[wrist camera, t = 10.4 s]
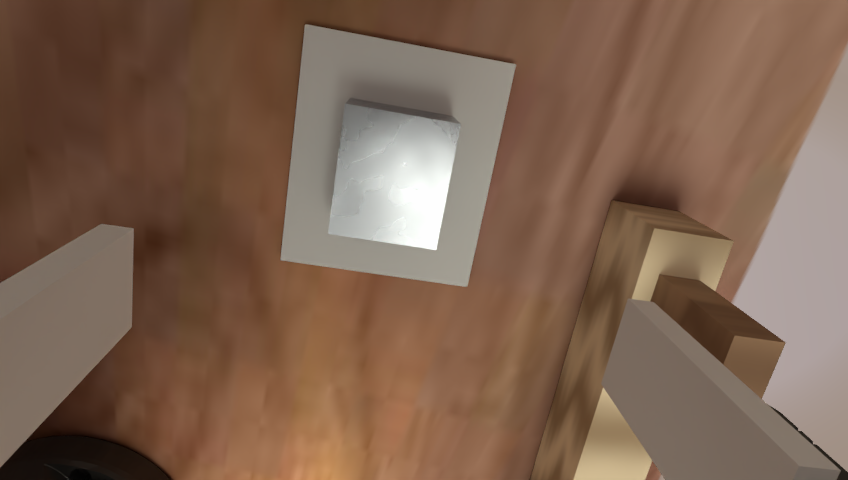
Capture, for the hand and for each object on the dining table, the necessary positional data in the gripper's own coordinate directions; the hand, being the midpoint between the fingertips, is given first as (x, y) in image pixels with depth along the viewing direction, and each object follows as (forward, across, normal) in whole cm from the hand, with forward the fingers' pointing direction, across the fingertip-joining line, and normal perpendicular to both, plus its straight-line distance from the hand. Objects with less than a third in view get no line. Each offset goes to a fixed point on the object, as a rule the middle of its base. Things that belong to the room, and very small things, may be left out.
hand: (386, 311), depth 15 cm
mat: (+20, 0, 0) cm, 20 cm away
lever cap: (+19, 0, 0) cm, 19 cm away
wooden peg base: (+20, -17, +13) cm, 29 cm away
